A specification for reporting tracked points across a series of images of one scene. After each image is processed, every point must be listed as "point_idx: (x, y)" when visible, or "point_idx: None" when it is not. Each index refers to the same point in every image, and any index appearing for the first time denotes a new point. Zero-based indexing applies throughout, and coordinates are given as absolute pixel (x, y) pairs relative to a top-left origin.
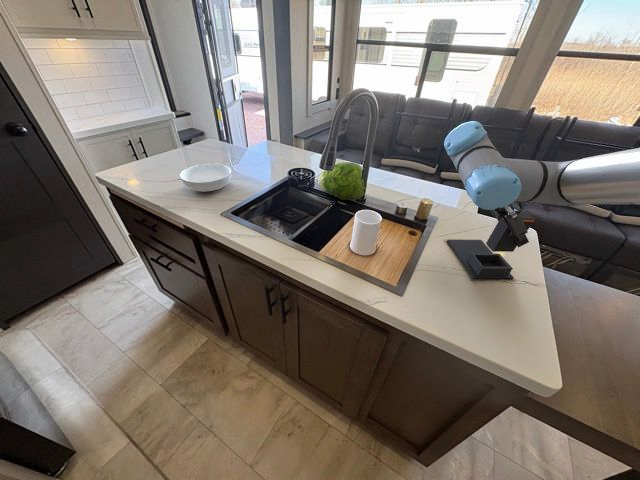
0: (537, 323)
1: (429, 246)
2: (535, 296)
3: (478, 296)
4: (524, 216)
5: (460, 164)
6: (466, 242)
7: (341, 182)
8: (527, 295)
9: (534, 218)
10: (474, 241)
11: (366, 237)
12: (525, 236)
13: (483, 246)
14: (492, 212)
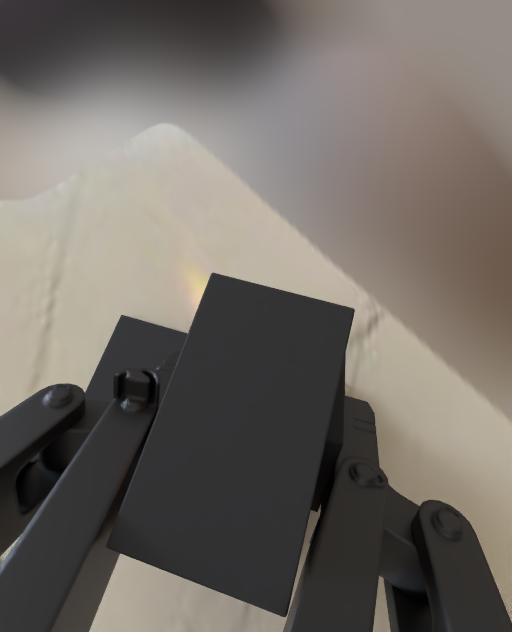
0: None
1: None
2: (422, 368)
3: (385, 616)
4: (286, 387)
5: None
6: (107, 391)
7: None
8: (413, 392)
9: (348, 313)
10: (117, 351)
11: None
12: (344, 375)
13: (156, 340)
14: (33, 516)
